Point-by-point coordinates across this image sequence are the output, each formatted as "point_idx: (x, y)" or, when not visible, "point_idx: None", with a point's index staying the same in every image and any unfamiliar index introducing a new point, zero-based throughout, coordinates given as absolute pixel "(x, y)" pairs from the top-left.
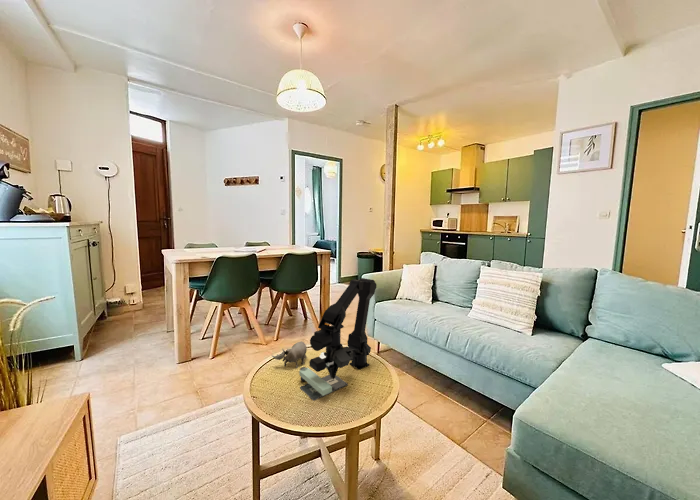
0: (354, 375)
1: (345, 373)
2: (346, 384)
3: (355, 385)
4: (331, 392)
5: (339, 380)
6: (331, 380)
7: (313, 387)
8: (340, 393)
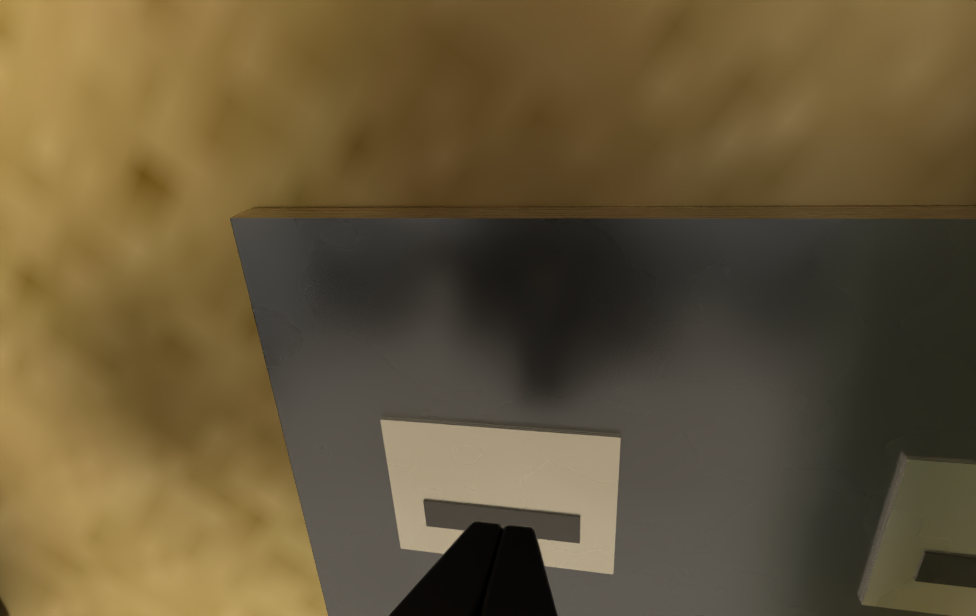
0: (15, 382)
1: (146, 517)
2: (273, 218)
3: (94, 84)
4: (791, 207)
5: (346, 431)
6: None
7: None
8: (604, 19)
